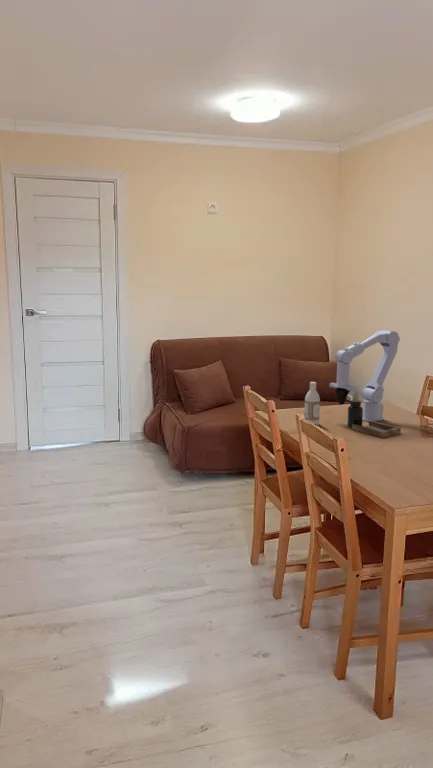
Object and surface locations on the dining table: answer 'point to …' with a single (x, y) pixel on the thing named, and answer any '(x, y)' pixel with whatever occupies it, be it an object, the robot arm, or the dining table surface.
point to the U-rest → (377, 429)
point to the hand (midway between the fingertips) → (341, 404)
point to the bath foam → (312, 405)
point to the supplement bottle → (355, 413)
